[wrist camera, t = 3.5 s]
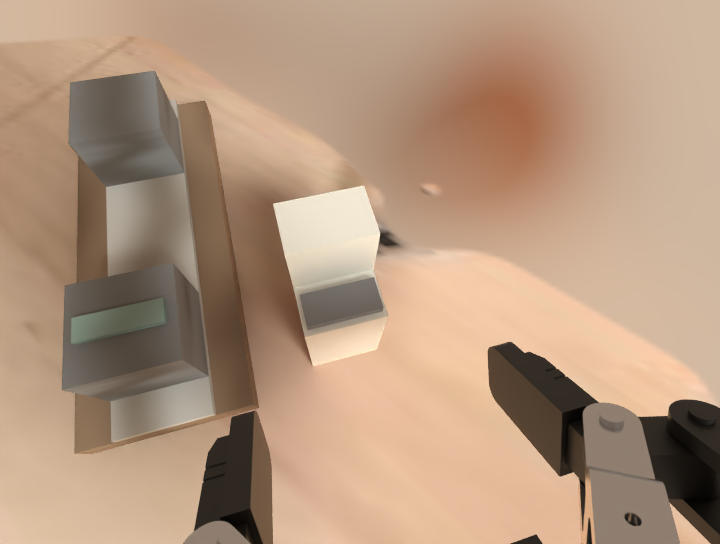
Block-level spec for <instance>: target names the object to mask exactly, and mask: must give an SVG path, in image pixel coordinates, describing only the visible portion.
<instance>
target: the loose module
mask: <svg viewBox="0 0 720 544" xmlns="http://www.w3.org/2000/svg"><path fill="white" fill-rule="evenodd" d="M273 205H274V210H275V214H276V219H277V223H278V228H279V232H280V237H281V241H282V246H283V250H284V255H285V258H286V262H287V266H288V269H289V273H290V277H291V280H292V284H293V288H294V292H295V297H296V301H297V306H298V310H299V315H300V319H301V323H302V328H303V332H304V337H305V340H306V344H307V347H308V351H309V354H310V358H311V361H312V364H313V366H316V365H320V364H324V363H328V362H331V361H335V360H339V359H343V358H347V357H350V356H354V355H358V354H362V353H365V352H369V351H373V350H377V347H378V344H379V341H380V339H381V336H382V333H383V330H384V327H385V325H386V322H387V319H388V313H387V310H386V307H385V304H384V301H383V298H382V294H381V291H380V288H379V285H378V282H377V279H376V276H375V272H374V264H375V259H376V254H377V248H378V243H379V238H380V231H379V229H378V226H377V223H376V220H375V217H374V214H373V211H372V208H371V205H370V202H369V199H368V196H367V193H366V190H365V187H364V186H360V187H355V188H349V189H344V190H339V191H334V192H329V193H324V194H319V195H314V196H309V197H304V198H299V199H294V200H289V201H284V202H279V203H274V204H273Z"/></svg>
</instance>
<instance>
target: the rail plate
mask: <svg viewBox="0 0 720 544" xmlns="http://www.w3.org/2000/svg"><path fill="white" fill-rule="evenodd" d="M69 145H70V146H71V147H72V148H73V150H74V151H75V152H76V153H77V154H78V155H79V163H78V236H77V283H75V284H71V285H66V286H65V295H64V332H63V369H62V390H64V391H68V392H72V393H75V454H92V453H96V452H99V451H103V450H107V449H110V448H114V447H118V446H121V445H125V444H129V443H132V442H136V441H139V440H143V439H147V438H150V437H154V436H158V435H161V434H165V433H168V432H172V431H176V430H179V429H183V428H187V427H190V426H194V425H197V424H201V423H205V422H208V421H212V420H216V419H219V418H223V417H226V416H230V415H234V414H237V413H241V412H245V411H248V410H252V409H256V408H259V405H258V399H257V393H256V387H255V381H254V375H253V369H252V363H251V357H250V351H249V345H248V339H247V333H246V326H245V320H244V314H243V308H242V302H241V296H240V290H239V284H238V278H237V272H236V266H235V260H234V254H233V248H232V242H231V236H230V230H229V223H228V217H227V211H226V205H225V199H224V193H223V187H222V181H221V175H220V169H219V163H218V157H217V151H216V145H215V139H214V133H213V127H212V121H211V115H210V113H209V110H208V107H207V105H206V102H205V101H200V102H194V103H187V104H181V105H178V104H177V102H176V100H169V99H168V97H167V95H166V93H165V91H164V89H163V87H162V85H161V83H160V81H159V79H158V77H157V74H156V72H155V71H150V72H143V73H136V74H129V75H121V76H114V77H107V78H100V79H93V80H86V81H78V82H71V83H70V109H69Z"/></svg>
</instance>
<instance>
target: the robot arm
mask: <svg viewBox="0 0 720 544" xmlns="http://www.w3.org/2000/svg"><path fill="white" fill-rule="evenodd" d="M488 370H489V386H490V390H491V393H492V395H493V397H494V399H495V401H496V402H497V403H498V405H499V406H500V407H501V408H502V409H503V410H504V412H505V413H506V414H507V415H508V416H509V417H510V419H511V420H512V421H513V422H514V423H515V425H516V426H517V427H518V428H519V429H520V430H521V432H522V433H523V434H524V435H525V436H526V437H527V439H528V440H529V441H530V442H531V443H532V445H533V446H534V447H535V448H536V449H537V450H538V452H539V453H540V454H541V455H542V456H543V457H544V459H545V460H546V461H547V462H548V463H549V465H550V466H551V467H552V468H553V469H554V470H555V472H556V473H557V474H558V475H559V476H563V475H566V474H569V473H572V472H574V473H575V474H576V475H577V476H578V478H579V484H578V489H579V509H580V529H581V544H680V541H679V537H678V534H677V530H676V526H675V522H674V519H673V515H672V511H671V507H670V503H671V504H672V505H673V506H674V507H675V508H676V509H677V510H678V511H679V512H680V513H681V514H682V515H683V516H684V517H685V518H686V519H687V520H688V521H689V522H690V523H691V524H692V525H693V526H694V527H695V528H696V529H697V530H698V531H699V532H700V533H701V534H702V535H703V536H704V537H705V538H706V539H707V540H708V541H709V542H710V543H711V544H720V408H718V407H716V406H714V405H712V404H709V403H706V402H702V401H697V400H679V401H676V402H674V403H672V404H671V405H670V407H669V411H668V416H656V417H637V416H636V415H635V414H634V413H632V412H631V411H629V410H628V409H626V408H624V407H621V406H619V405H615V404H611V403H599V402H597V401H596V400H595V399H594V398H593V397H591V396H590V395H589V394H588V393H586V392H585V391H584V390H583V389H582V388H580V387H579V386H578V385H577V384H575V383H574V382H573V381H572V380H571V379H569V378H568V377H565V375H564V374H563V373H562V372H561V371H560V370H558V369H556V367H555V366H553V365H552V364H551V363H550V362H548V361H547V360H546V359H545V358H543V357H540V356H538V355H536V354H533V353H531V352H527V353H524V352H523V351H522V350H520V349H519V348H518V347H517V346H516V345H515V344H513V343H512V342H507V343H503V344H500V345H496V346H493V347H490V348H489V349H488ZM203 480H204V483H203V484H202V490H201V496H200V501H199V507H198V512H197V518H196V524H195V529H194V532H193V533H192V534H191V535H190V536H189V537H188V538H187V539H186V540H185V542H184V543H183V544H273V526H272V468H271V458H270V453H269V448H268V445H267V442H266V439H265V435H264V432H263V429H262V426H261V423H260V420H259V416H258V414H257V412H256V411H252V412H248V413H245V414H241V415H237V416H234V417H232V419H231V425H230V434H229V435H228V436H224V437H221V438H217V440H216V441H215V443H214V444H213V446H212V448H211V449H210V451H209V452H208V456H207V462H206V470H205V473H204V479H203ZM669 502H670V503H669ZM511 544H542V542H541V541H540V539H539V538H538V536H537V535H533V536H531V537H528V538H525V539H522V540H519V541H517V542H514V543H511Z"/></svg>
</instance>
